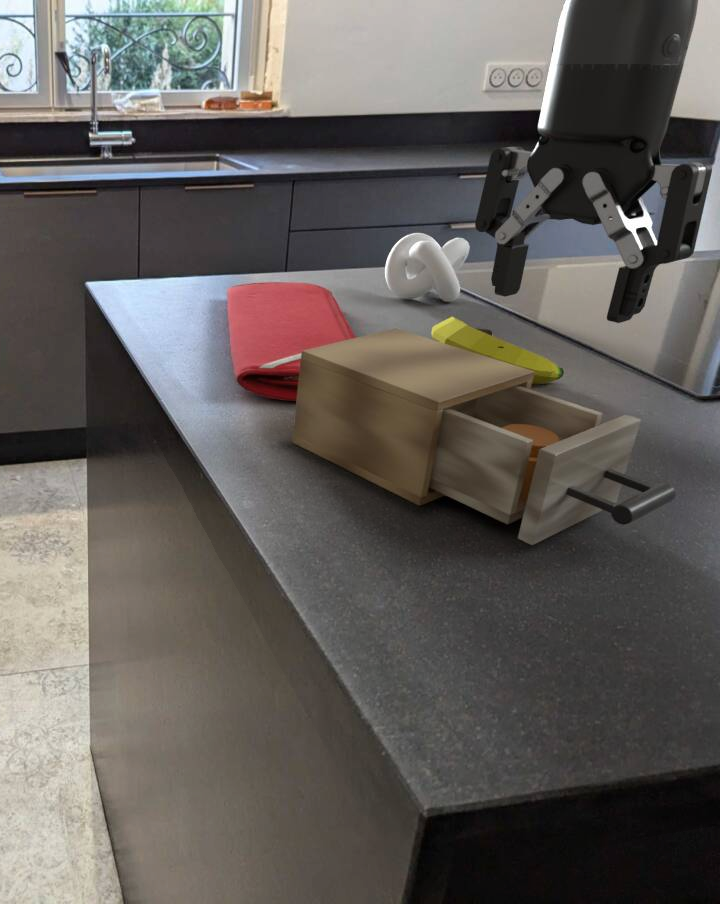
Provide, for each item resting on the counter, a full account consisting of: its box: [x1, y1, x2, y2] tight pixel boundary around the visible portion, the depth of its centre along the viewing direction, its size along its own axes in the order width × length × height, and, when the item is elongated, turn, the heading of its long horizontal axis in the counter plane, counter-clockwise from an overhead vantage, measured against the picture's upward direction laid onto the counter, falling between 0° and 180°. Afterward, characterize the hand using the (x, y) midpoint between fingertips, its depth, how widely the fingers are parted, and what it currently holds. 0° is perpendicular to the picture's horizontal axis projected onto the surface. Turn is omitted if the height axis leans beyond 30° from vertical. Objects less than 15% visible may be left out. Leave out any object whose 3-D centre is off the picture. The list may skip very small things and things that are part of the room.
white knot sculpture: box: [384, 232, 471, 303], centre depth 124 cm, size 11×12×9 cm
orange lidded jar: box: [502, 424, 559, 500], centre depth 65 cm, size 5×5×4 cm
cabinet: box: [291, 327, 535, 507], centre depth 73 cm, size 15×13×9 cm
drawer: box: [429, 385, 677, 546], centre depth 64 cm, size 18×11×7 cm, turn 33°
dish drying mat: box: [226, 281, 357, 402], centre depth 104 cm, size 16×41×4 cm, turn 174°
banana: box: [431, 316, 565, 385], centre depth 98 cm, size 5×17×15 cm
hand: (559, 306), depth 59 cm, fingers open, 8 cm apart
